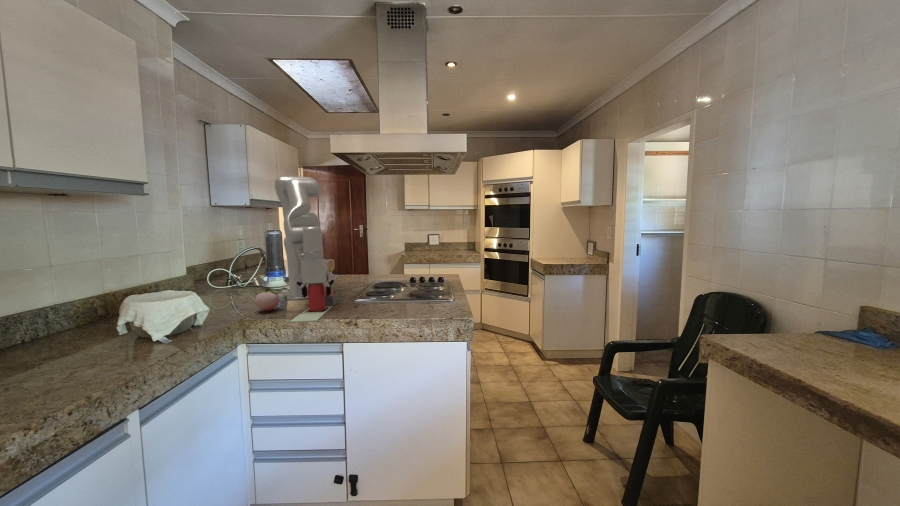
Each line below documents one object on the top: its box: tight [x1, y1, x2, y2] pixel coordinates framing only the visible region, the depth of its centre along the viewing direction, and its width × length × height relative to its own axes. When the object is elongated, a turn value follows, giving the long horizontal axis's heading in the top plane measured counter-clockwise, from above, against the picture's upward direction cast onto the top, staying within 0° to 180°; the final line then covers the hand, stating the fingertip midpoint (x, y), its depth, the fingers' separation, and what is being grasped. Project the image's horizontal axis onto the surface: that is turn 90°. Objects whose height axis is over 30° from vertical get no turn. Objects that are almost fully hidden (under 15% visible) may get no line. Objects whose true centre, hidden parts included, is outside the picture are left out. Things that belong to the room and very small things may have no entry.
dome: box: [324, 286, 334, 296], centre depth 152 cm, size 6×6×6 cm
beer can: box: [307, 283, 327, 312], centre depth 142 cm, size 7×7×12 cm
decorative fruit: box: [254, 287, 281, 312], centre depth 142 cm, size 9×8×10 cm
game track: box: [289, 291, 339, 323], centre depth 142 cm, size 10×30×4 cm, turn 3°
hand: (316, 296), depth 142 cm, fingers open, 9 cm apart
